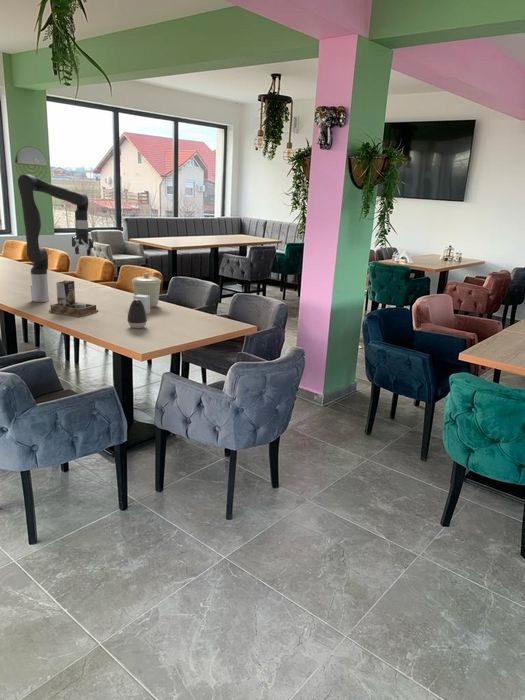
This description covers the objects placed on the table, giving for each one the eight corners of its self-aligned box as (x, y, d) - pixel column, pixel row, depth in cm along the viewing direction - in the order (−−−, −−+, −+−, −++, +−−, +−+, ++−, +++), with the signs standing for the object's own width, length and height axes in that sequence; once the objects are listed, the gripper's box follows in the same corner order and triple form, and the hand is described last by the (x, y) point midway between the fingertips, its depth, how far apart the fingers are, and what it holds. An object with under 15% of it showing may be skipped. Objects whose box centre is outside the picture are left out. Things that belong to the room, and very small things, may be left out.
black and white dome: (129, 330, 278) (128, 301, 274) (126, 325, 287) (125, 297, 283) (149, 329, 282) (148, 301, 278) (145, 324, 291) (144, 297, 287)
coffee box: (67, 311, 308) (65, 283, 303) (57, 310, 309) (55, 282, 305) (76, 307, 317) (74, 280, 312) (66, 306, 318) (64, 280, 313)
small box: (150, 313, 318) (150, 295, 315) (145, 314, 313) (145, 297, 310) (138, 311, 320) (138, 294, 317) (133, 313, 315) (133, 295, 312)
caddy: (49, 311, 308) (48, 303, 307) (68, 306, 322) (68, 298, 321) (79, 316, 300) (79, 308, 299) (98, 311, 315) (97, 303, 313)
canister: (141, 310, 322) (140, 275, 316) (126, 305, 335) (125, 271, 329) (167, 307, 334) (167, 274, 328) (152, 302, 347) (151, 269, 340)
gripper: (67, 227, 320) (69, 254, 325) (87, 228, 315) (88, 256, 320) (76, 226, 327) (77, 253, 332) (95, 228, 322) (96, 255, 327)
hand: (83, 254), depth 326 cm, fingers open, 8 cm apart
